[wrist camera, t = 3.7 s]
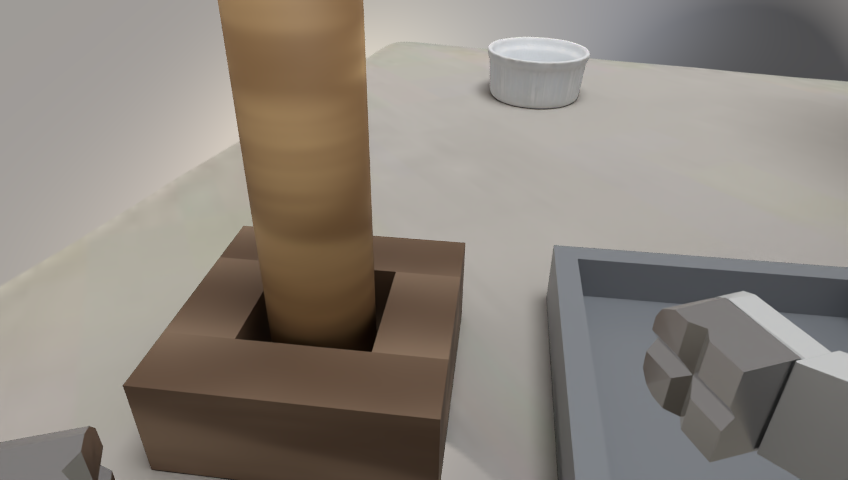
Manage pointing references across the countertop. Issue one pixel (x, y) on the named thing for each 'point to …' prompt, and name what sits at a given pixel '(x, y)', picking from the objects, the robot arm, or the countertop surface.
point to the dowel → (306, 164)
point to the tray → (632, 336)
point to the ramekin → (536, 71)
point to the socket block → (305, 377)
